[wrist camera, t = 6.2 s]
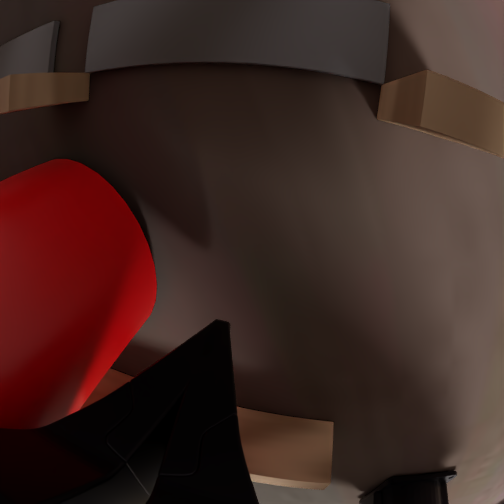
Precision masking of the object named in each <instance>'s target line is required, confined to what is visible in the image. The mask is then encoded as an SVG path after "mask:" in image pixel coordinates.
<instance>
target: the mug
mask: <svg viewBox="0 0 504 504" xmlns="http://www.w3.org/2000/svg"><path fill="white" fill-rule="evenodd" d="M156 290H157V281H156V273H155V265H154V262H153V259H152V255H151V252H150V248H149V245H148V243H147V240H146V238H145V236H144V234H143V232H142V229H141V227H140V225H139V223H138V221H137V220H136V218H135V216H134V215H133V213H132V212H131V210H130V208H129V207H128V205H127V203H126V202H125V201H124V200H123V199H122V197H121V196H120V195H119V194H118V193H117V191H116V190H115V189H114V188H113V186H112V185H110V184H109V183H108V182H107V181H106V180H105V179H104V178H103V177H101V176H100V175H99V174H98V173H97V172H95V171H94V170H92V169H90V168H89V167H87V166H85V165H84V164H82V163H79V162H76V161H72V160H69V159H53V160H50V161H48V162H45V163H42V164H40V165H37V166H35V167H32V168H30V169H27V170H25V171H23V172H20V173H18V174H16V175H13V176H11V177H9V178H7V179H5V180H2V181H0V428H10V429H34V428H39V427H43V426H46V425H48V424H51V423H53V422H55V421H57V420H60V419H62V418H64V417H66V416H68V415H70V414H72V413H74V412H76V411H78V410H80V408H81V407H82V406H83V404H84V403H85V401H86V400H87V399H88V397H89V396H90V394H91V393H92V392H93V390H94V389H95V388H96V386H97V385H98V383H99V382H100V381H101V379H102V378H103V377H104V375H105V374H106V373H107V371H108V370H109V369H110V367H111V366H112V365H113V363H114V362H115V361H116V359H117V358H118V357H119V355H120V354H121V353H122V351H123V350H124V349H125V347H126V346H127V345H128V343H129V342H130V341H131V339H132V338H133V337H134V335H135V334H136V333H137V332H138V330H139V329H140V328H141V326H142V325H143V324H144V323H145V321H146V320H147V318H148V317H149V316H150V314H151V313H152V310H153V307H154V304H155V301H156Z"/></svg>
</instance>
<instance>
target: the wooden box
mask: <svg viewBox="0 0 504 504" xmlns="http://www.w3.org/2000/svg"><path fill="white" fill-rule="evenodd" d="M389 17H390V4H388V3H385V2H381V1H377V0H117V1H113V2H109V3H105V4H102V5H98V6H95V7H94V8H93V13H92V19H91V25H90V32H89V39H88V46H87V55H86V64H85V73H72V72H54V73H53V70H54V60H55V51H56V43H57V36H58V30H59V24H60V21H52V22H50V23H47V24H45V25H43V26H40V27H38V28H36V29H34V30H31V31H29V32H27V33H25V34H23V35H21V36H19V37H17V38H15V39H13V40H11V41H9V42H7V43H5V44H3V45H2V46H0V115H1V114H6V113H11V112H16V111H22V110H27V109H34V108H40V107H47V106H54V105H60V104H67V103H74V102H81V101H89V84H90V73H93V72H99V71H106V70H113V69H120V68H128V67H138V66H149V65H162V64H183V63H228V64H250V65H264V66H275V67H284V68H293V69H301V70H308V71H315V72H321V73H327V74H333V75H338V76H343V77H348V78H353V79H358V80H362V81H366V82H371V83H375V84H379V85H381V92H380V100H379V107H378V114H377V120H380V121H384V122H388V123H392V124H396V125H400V126H403V127H407V128H410V129H414V130H417V131H420V132H423V133H427V134H430V135H433V136H436V137H439V138H442V139H446V140H449V141H453V142H456V143H460V144H463V145H466V146H470V147H473V148H476V149H479V150H482V151H485V152H488V153H491V154H493V155H496V156H499V157H502V158H504V103H503V102H501V101H500V100H498V99H496V98H494V97H492V96H490V95H488V94H486V93H483V92H481V91H479V90H477V89H475V88H473V87H470V86H468V85H466V84H463V83H461V82H459V81H456V80H454V79H451V78H449V77H446V76H444V75H441V74H438V73H436V72H433V71H430V70H424V71H421V72H418V73H415V74H412V75H409V76H406V77H403V78H400V79H397V80H394V81H391V82H389V83H386V84H384V79H385V70H386V60H387V48H388V35H389ZM132 378H134V377H132V376H130V375H127V374H124V373H121V372H119V371H116V370H114V369H111V368H110V369H109V370H108V371H107V373H106V374H105V375H104V377H103V378H102V379H101V381H100V382H99V383H98V385H97V386H96V388H95V389H94V390H93V392H92V393H91V394H90V396H89V397H88V399H87V400H86V401H85V403H84V404H83V406H82V407H81V408H80V409H82V408H84V407H86V406H88V405H90V404H92V403H94V402H96V401H98V400H99V399H101V398H103V397H105V396H106V395H108V394H110V393H111V392H113V391H114V390H116V389H117V388H119V387H121V386H122V385H123V384H125V383H126V382H128V381H129V382H130V380H131V379H132ZM237 416H238V422H239V430H240V437H241V443H242V448H243V452H244V456H245V460H246V464H247V467H248V470H249V474H250V477H251V480H252V481H254V482H259V483H265V484H272V485H279V486H287V487H295V488H305V489H318V490H324V489H325V488H326V487H327V486H328V485H329V484H330V483H331V468H332V450H333V423H334V422H329V421H320V420H312V419H304V418H297V417H290V416H284V415H278V414H272V413H266V412H261V411H256V410H251V409H246V408H241V407H237Z"/></svg>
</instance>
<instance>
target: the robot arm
mask: <svg viewBox="0 0 504 504" xmlns="http://www.w3.org/2000/svg"><path fill="white" fill-rule="evenodd" d="M456 476H457V472H456V471H450V472H444V473H436V474H428V475H418V476H406V477H394V478H390V479H388V480H387V481H386V482H384V483H383V484H382V485H380V486H379V487H378V488H376V489H375V490H374V491H372V492H371V493H369V494H368V495H367V496H365V497H364V498H362V499H361V500H360V501H359V504H449V503H448V493H447V484H446V483H448V482H449V481H450V480H452V479H453V478H455V477H456ZM0 504H259V502H258V499H257V496H256V493H255V490H254V487H253V483H252V480H251V477H250V474H249V470H248V467H247V464H246V460H245V456H244V452H243V448H242V443H241V437H240V430H239V422H238V416H237V404H236V394H235V384H234V373H233V362H232V351H231V340H230V323H229V322H227V321H222V320H218V319H216V320H214V321H213V322H212V323H210V324H209V325H208V326H206V327H205V328H203V329H202V330H201V331H199V332H198V333H197V334H195V335H194V336H192V337H191V338H190V339H188V340H187V341H185V342H184V343H183V344H181V345H180V346H178V347H177V348H176V349H174V350H173V351H171V352H170V353H168V354H167V355H166V356H164V357H163V358H161V359H160V360H158V361H157V362H156V363H154V364H153V365H151V366H150V367H148V368H147V369H146V370H144V371H143V372H141V373H140V374H138V375H137V376H135V377H134V378H132V379H131V380H130V382H129V381H128V382H126V383H125V384H123V385H122V386H121V387H119V388H117V389H116V390H114V391H113V392H111V393H110V394H108V395H106V396H105V397H103V398H101V399H99V400H98V401H96V402H94V403H92V404H90V405H88V406H86V407H84V408H82V409H80V410H78V411H76V412H74V413H72V414H70V415H68V416H66V417H64V418H62V419H60V420H57V421H55V422H53V423H51V424H48V425H46V426H43V427H39V428H34V429H10V428H0Z"/></svg>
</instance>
